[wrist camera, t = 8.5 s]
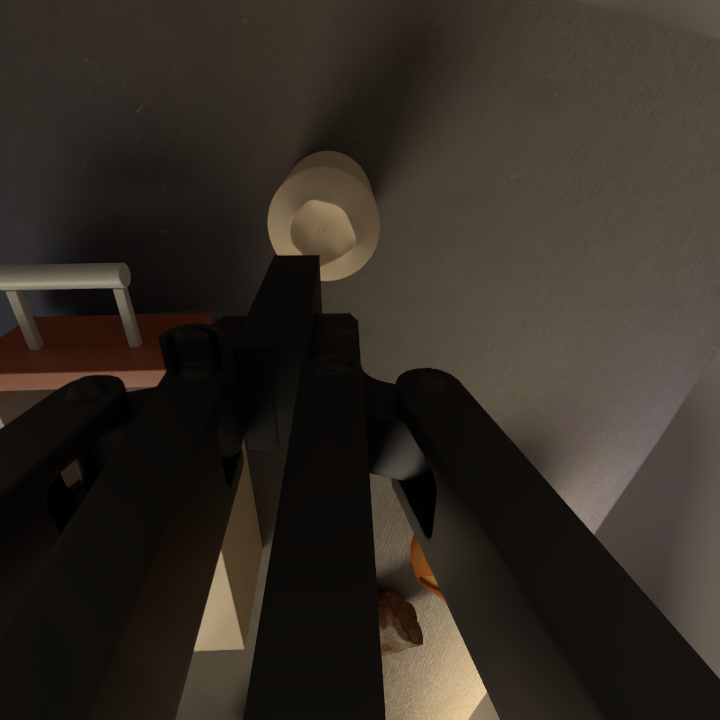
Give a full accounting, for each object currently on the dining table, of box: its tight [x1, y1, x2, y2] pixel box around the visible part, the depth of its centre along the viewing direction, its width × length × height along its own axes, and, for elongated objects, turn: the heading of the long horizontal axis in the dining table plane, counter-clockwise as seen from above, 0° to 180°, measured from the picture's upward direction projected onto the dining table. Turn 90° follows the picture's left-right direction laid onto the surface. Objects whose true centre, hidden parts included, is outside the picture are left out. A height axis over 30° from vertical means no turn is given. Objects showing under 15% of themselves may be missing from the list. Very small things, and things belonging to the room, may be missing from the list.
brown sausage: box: [377, 591, 423, 656], centre depth 50 cm, size 6×19×6 cm, turn 122°
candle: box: [268, 151, 380, 281], centre depth 26 cm, size 6×6×10 cm
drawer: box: [0, 263, 212, 487], centre depth 31 cm, size 20×13×8 cm, turn 1°
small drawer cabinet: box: [194, 440, 263, 651], centre depth 38 cm, size 16×14×10 cm
